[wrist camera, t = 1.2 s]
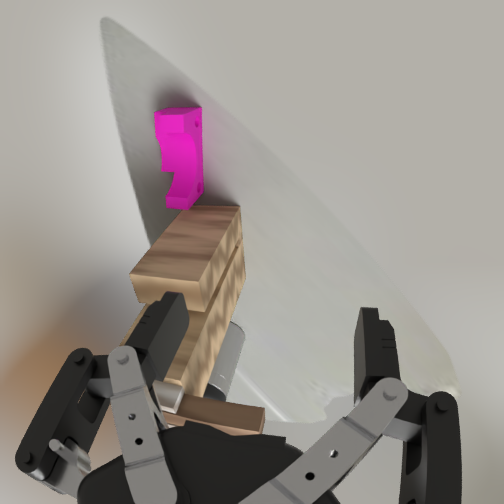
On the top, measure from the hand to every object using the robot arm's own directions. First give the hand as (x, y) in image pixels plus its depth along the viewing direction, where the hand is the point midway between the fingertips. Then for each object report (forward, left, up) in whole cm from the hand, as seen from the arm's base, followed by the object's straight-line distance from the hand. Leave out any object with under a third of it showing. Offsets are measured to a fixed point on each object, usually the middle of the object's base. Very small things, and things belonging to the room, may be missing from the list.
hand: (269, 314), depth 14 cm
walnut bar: (-24, +14, -7) cm, 29 cm away
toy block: (-3, +20, -39) cm, 44 cm away
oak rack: (-21, +17, -38) cm, 47 cm away
